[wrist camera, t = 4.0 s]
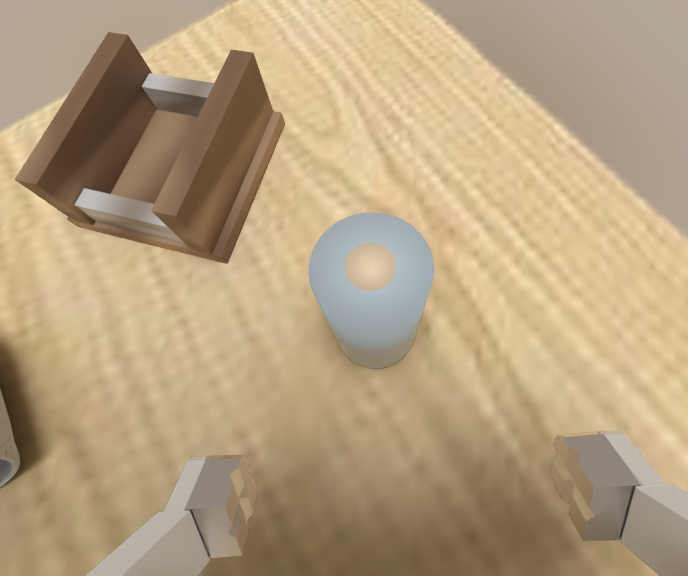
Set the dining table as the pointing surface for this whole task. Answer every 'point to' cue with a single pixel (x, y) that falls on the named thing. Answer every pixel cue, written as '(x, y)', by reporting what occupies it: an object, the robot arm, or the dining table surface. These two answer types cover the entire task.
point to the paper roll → (372, 285)
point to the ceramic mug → (7, 447)
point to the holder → (157, 151)
